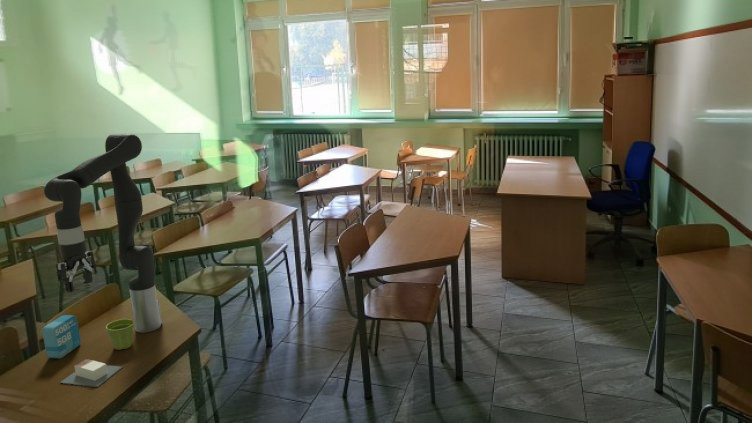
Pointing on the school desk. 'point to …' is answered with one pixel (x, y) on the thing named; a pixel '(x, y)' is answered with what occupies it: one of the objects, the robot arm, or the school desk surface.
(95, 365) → the white rectangular block
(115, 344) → the plant pot
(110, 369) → the mat
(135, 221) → the robot arm
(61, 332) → the data package
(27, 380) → the school desk surface
